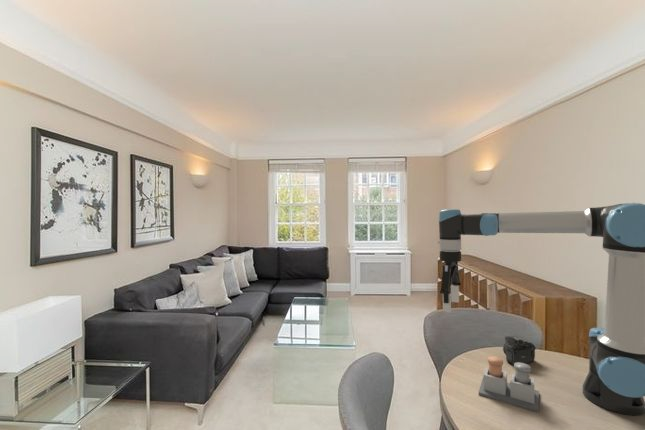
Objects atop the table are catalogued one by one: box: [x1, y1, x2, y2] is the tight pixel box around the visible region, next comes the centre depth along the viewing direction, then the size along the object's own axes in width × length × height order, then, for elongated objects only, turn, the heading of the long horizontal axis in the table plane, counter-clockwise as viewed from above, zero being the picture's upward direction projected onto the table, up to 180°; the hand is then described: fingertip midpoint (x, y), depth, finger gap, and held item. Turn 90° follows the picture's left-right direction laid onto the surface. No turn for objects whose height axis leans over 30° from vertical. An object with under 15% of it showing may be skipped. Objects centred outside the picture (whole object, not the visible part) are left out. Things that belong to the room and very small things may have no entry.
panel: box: [478, 366, 540, 413], centre depth 107 cm, size 17×12×6 cm
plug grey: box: [513, 362, 532, 385], centre depth 105 cm, size 5×5×6 cm
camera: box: [502, 335, 537, 366], centre depth 130 cm, size 13×10×10 cm
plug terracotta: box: [487, 356, 504, 378], centre depth 109 cm, size 5×5×6 cm
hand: (451, 306), depth 118 cm, fingers open, 13 cm apart
